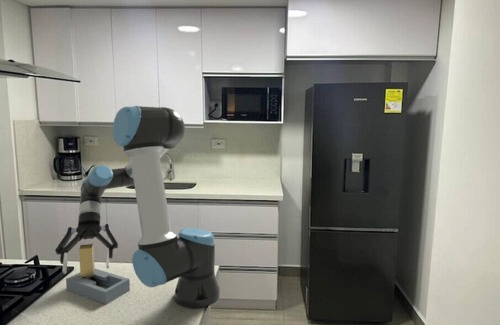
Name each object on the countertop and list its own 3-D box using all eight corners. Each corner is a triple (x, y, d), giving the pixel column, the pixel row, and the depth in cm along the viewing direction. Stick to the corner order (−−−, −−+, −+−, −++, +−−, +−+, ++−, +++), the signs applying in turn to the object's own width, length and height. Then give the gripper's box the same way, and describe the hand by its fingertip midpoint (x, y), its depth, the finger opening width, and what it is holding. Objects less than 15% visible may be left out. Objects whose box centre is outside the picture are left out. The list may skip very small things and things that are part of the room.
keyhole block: (129, 290, 116) (129, 278, 115) (106, 304, 107) (105, 292, 106) (91, 277, 124) (90, 267, 124) (66, 290, 115) (65, 278, 115)
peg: (96, 282, 121) (94, 243, 119) (95, 289, 116) (93, 248, 114) (81, 284, 119) (79, 244, 117) (79, 291, 115) (77, 250, 113)
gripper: (125, 217, 133) (125, 268, 121) (54, 223, 125) (47, 278, 113) (124, 208, 128) (124, 260, 116) (50, 213, 120) (42, 270, 108)
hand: (86, 269), depth 115 cm, fingers open, 13 cm apart
